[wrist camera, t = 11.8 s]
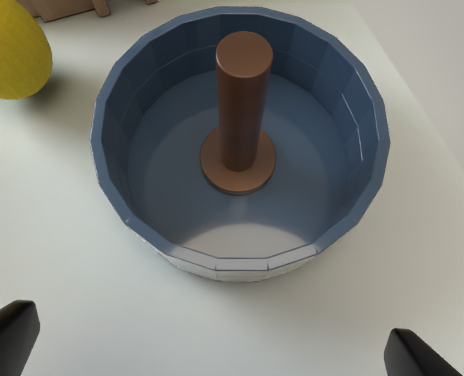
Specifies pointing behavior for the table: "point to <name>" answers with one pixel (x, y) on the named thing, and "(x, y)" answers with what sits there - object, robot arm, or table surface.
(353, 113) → the bowl
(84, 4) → the wooden puzzle
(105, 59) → the table surface
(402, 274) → the table surface
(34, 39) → the lemon
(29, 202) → the table surface
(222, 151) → the brown wooden peg
